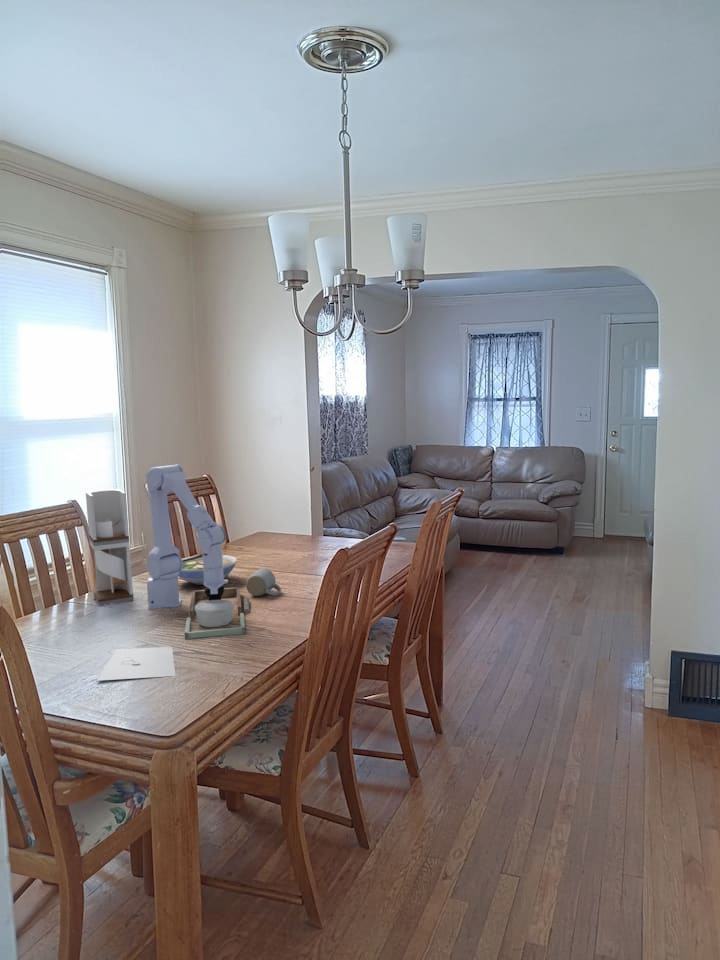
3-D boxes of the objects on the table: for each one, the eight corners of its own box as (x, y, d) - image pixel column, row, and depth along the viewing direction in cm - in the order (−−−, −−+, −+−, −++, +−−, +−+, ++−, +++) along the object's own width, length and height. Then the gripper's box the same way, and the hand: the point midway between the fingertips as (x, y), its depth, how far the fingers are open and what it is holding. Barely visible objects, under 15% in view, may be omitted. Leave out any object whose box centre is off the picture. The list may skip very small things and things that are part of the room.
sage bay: (184, 638, 194) (184, 633, 194) (187, 622, 207) (187, 617, 207) (245, 633, 197) (244, 627, 197) (243, 617, 210) (243, 612, 210)
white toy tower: (93, 597, 238) (85, 492, 234) (127, 592, 243) (119, 489, 238) (98, 605, 228) (90, 495, 224) (133, 600, 233) (125, 492, 228)
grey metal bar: (244, 614, 215) (244, 609, 215) (244, 602, 227) (244, 598, 227) (249, 613, 216) (248, 609, 215) (249, 602, 227) (248, 598, 227)
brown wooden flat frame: (189, 619, 210) (189, 611, 210) (192, 598, 233) (192, 590, 232) (241, 615, 213) (241, 606, 213) (239, 594, 235) (239, 587, 235)
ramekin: (231, 614, 214) (230, 597, 213) (239, 625, 204) (238, 607, 203) (192, 619, 210) (191, 602, 209) (199, 631, 200) (197, 612, 199)
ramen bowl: (198, 595, 235) (197, 571, 234) (155, 586, 249) (153, 563, 248) (254, 578, 255) (253, 556, 254) (210, 570, 269) (209, 549, 268)
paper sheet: (118, 649, 189) (118, 645, 188) (230, 647, 190) (230, 643, 190) (89, 684, 165) (89, 679, 165) (217, 682, 167) (216, 677, 166)
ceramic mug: (245, 596, 232) (244, 573, 232) (254, 590, 240) (253, 567, 239) (276, 598, 230) (275, 575, 229) (284, 591, 238) (284, 568, 237)
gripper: (227, 571, 206) (229, 617, 208) (226, 560, 220) (229, 603, 222) (201, 573, 205) (204, 619, 206) (203, 562, 219) (205, 605, 220)
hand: (215, 611), depth 214 cm, fingers closed
